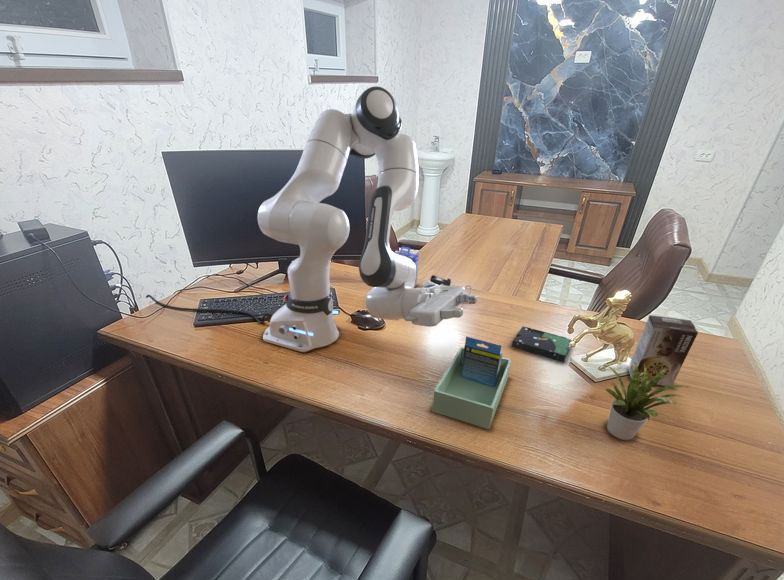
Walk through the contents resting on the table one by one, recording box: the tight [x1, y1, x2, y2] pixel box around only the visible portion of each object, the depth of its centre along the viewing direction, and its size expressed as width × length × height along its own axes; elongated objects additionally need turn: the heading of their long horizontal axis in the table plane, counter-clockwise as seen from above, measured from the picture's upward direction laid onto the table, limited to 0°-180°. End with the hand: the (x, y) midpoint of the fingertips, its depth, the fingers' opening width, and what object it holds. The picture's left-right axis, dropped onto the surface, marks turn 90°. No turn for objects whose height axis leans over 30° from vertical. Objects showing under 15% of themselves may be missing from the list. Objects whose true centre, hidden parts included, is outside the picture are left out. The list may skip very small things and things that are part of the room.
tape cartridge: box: [461, 336, 504, 387], centre depth 96 cm, size 9×4×12 cm, turn 62°
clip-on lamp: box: [422, 274, 472, 295], centre depth 140 cm, size 12×6×18 cm
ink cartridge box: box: [393, 245, 419, 287], centre depth 146 cm, size 10×6×14 cm, turn 59°
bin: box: [431, 346, 512, 430], centre depth 93 cm, size 20×13×6 cm, turn 154°
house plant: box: [603, 362, 689, 441], centre depth 79 cm, size 14×14×16 cm
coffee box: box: [627, 314, 699, 387], centre depth 97 cm, size 9×6×16 cm
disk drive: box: [510, 325, 572, 364], centre depth 112 cm, size 10×3×15 cm
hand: (469, 306), depth 95 cm, fingers open, 8 cm apart
